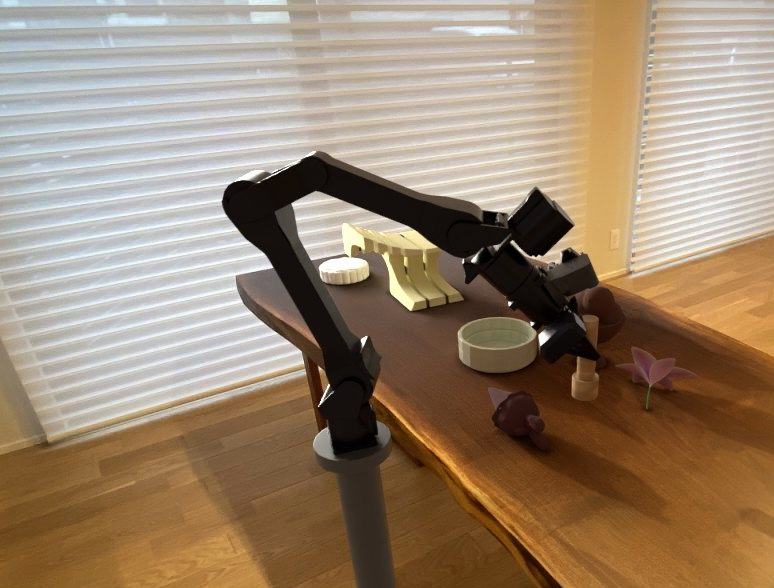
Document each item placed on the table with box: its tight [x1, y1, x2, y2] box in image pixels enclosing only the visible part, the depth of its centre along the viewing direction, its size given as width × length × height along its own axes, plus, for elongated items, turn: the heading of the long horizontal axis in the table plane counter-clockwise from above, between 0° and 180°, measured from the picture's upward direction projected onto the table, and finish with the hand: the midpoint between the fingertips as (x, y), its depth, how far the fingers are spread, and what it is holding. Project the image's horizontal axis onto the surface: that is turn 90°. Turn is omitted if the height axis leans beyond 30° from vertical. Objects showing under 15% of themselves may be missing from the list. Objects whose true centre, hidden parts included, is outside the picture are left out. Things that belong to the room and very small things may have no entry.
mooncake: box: [318, 256, 370, 286], centre depth 154 cm, size 12×12×4 cm
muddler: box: [571, 315, 600, 402], centre depth 86 cm, size 4×4×12 cm
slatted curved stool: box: [341, 222, 465, 312], centre depth 140 cm, size 30×16×18 cm, turn 120°
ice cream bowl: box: [575, 285, 627, 370], centre depth 110 cm, size 11×11×15 cm
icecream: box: [487, 386, 549, 451], centre depth 92 cm, size 7×7×15 cm
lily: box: [614, 346, 699, 410], centre depth 100 cm, size 12×12×10 cm
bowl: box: [457, 316, 538, 374], centre depth 114 cm, size 14×14×5 cm
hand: (596, 353), depth 86 cm, fingers closed on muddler, 2 cm apart
